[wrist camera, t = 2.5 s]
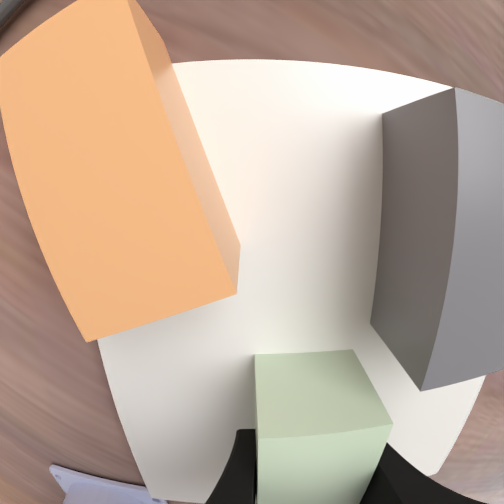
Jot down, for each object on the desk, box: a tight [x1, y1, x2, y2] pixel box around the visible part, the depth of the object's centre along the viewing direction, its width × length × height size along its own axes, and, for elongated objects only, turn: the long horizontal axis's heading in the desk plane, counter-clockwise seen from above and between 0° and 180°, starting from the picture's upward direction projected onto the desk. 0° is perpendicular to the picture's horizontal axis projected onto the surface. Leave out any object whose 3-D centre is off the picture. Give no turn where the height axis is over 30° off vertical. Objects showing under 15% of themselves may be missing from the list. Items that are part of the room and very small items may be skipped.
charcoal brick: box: [370, 87, 504, 392], centre depth 8 cm, size 7×4×4 cm, turn 0°
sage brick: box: [255, 349, 394, 504], centre depth 9 cm, size 7×4×4 cm, turn 0°
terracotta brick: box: [0, 0, 241, 342], centre depth 7 cm, size 7×4×4 cm, turn 20°
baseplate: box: [97, 60, 486, 503], centre depth 11 cm, size 20×17×1 cm
